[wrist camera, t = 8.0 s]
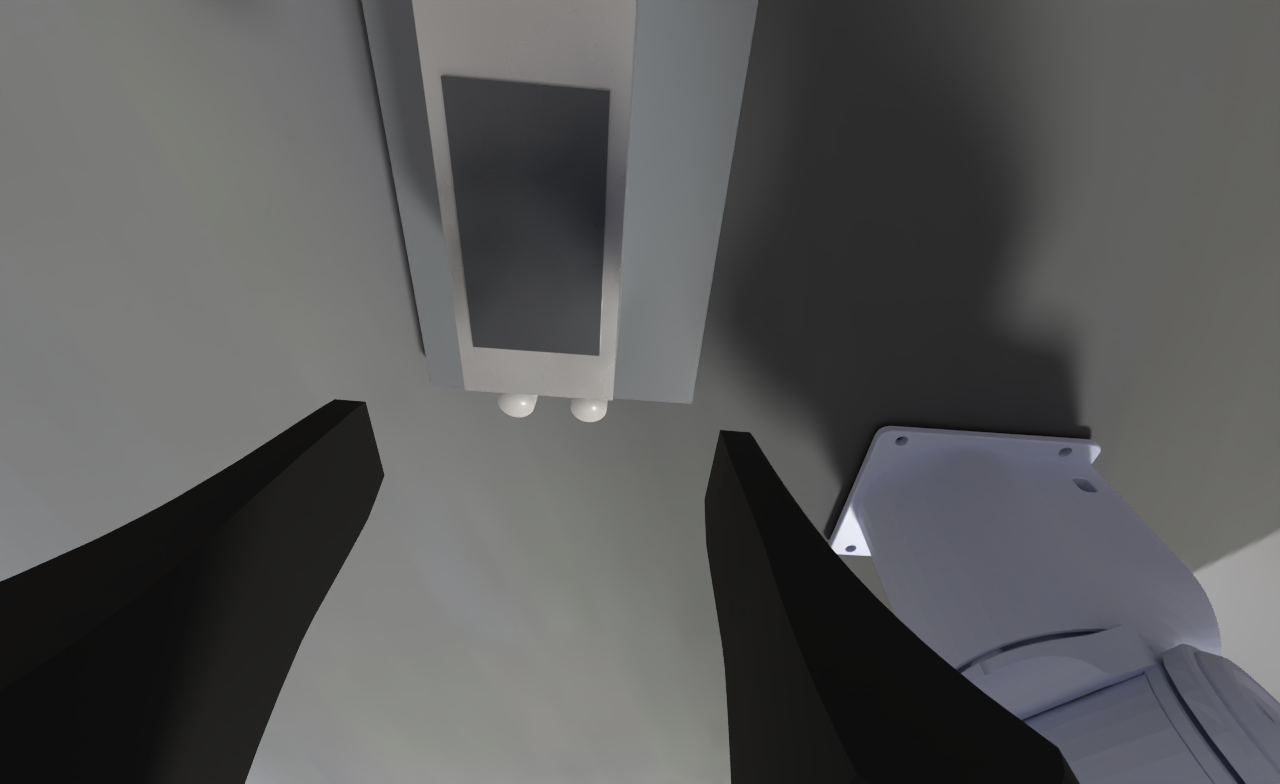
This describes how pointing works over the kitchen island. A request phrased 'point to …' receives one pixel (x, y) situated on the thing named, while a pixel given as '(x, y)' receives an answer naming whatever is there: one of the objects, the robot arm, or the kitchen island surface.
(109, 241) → the kitchen island surface
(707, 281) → the pin tray
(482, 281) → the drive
